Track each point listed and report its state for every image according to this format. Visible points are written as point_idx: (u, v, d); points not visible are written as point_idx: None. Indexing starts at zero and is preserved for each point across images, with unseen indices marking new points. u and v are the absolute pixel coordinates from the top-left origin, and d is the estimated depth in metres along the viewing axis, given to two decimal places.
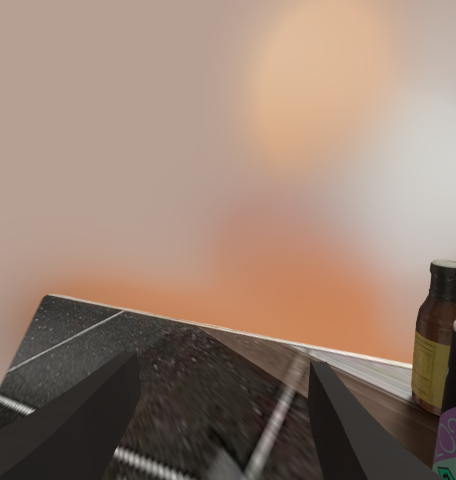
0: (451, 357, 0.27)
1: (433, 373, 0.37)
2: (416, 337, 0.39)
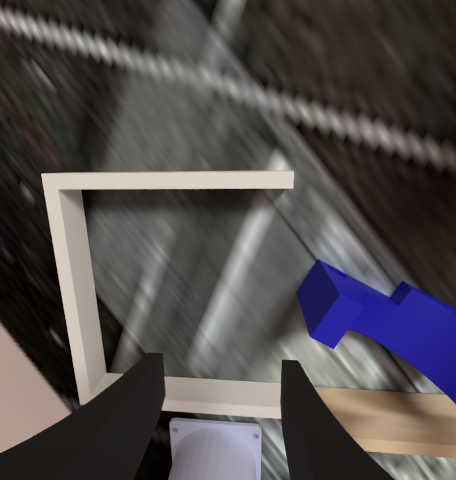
0: None
1: None
2: None
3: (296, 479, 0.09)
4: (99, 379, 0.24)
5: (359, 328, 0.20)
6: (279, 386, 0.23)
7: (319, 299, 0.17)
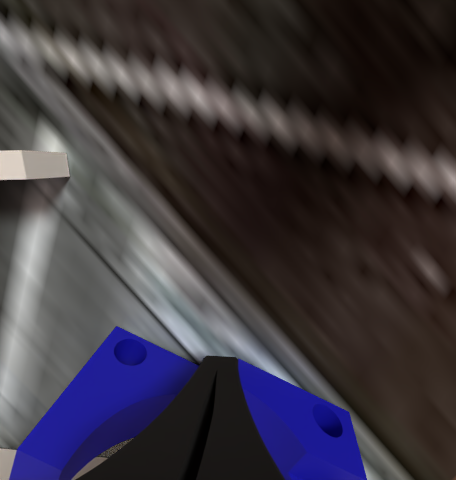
0: None
1: None
2: None
3: None
4: None
5: None
6: None
7: None
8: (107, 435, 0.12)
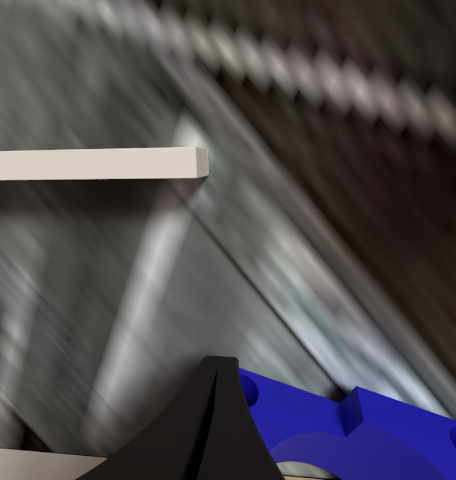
0: None
1: None
2: None
3: None
4: None
5: (291, 458, 0.14)
6: None
7: None
8: None
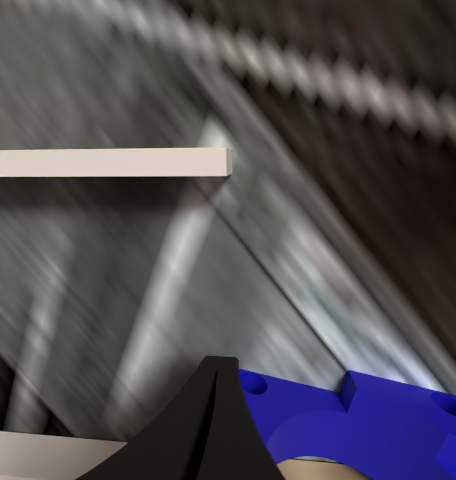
0: None
1: None
2: None
3: None
4: None
5: (305, 450, 0.15)
6: None
7: None
8: None
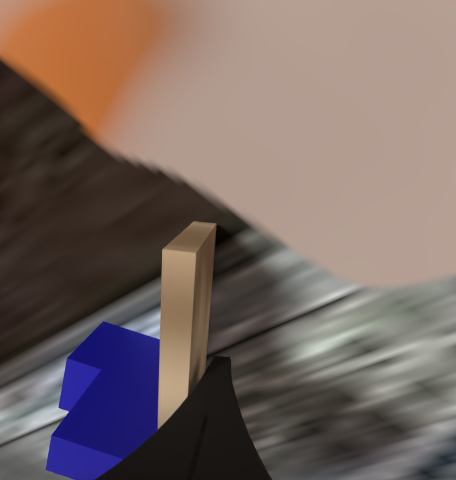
0: None
1: None
2: None
3: None
4: None
5: None
6: None
7: None
8: None
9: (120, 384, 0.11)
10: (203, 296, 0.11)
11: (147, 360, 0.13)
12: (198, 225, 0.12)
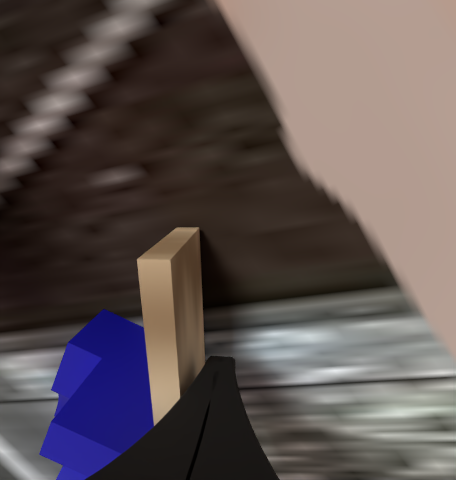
0: None
1: None
2: None
3: None
4: None
5: None
6: None
7: None
8: None
9: (120, 375, 0.11)
10: (190, 301, 0.11)
11: (146, 353, 0.13)
12: (180, 231, 0.12)
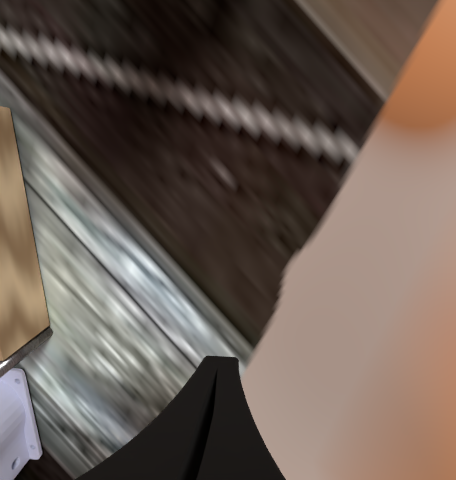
0: None
1: None
2: None
3: None
4: None
5: None
6: None
7: None
8: None
9: None
10: None
11: None
12: None
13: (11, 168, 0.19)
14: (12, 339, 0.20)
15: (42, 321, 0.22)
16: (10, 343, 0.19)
